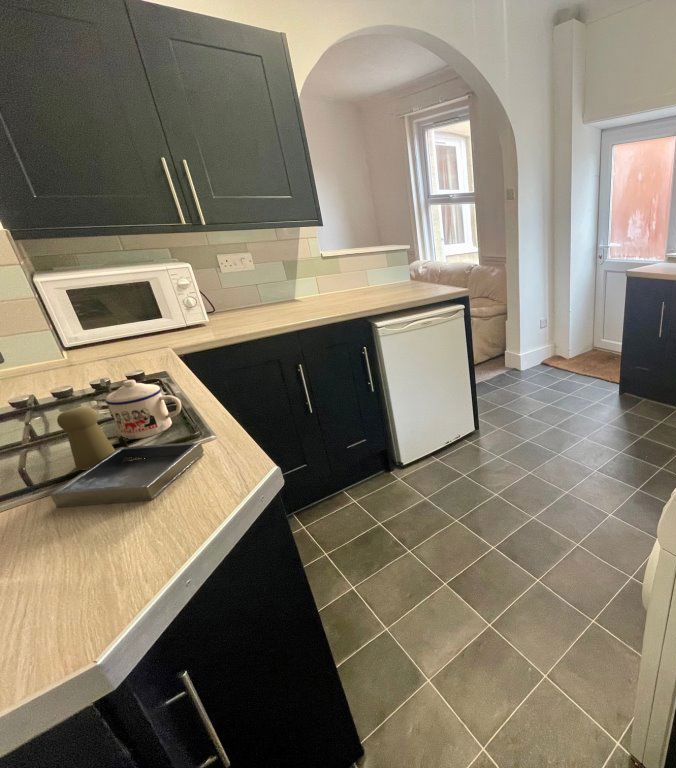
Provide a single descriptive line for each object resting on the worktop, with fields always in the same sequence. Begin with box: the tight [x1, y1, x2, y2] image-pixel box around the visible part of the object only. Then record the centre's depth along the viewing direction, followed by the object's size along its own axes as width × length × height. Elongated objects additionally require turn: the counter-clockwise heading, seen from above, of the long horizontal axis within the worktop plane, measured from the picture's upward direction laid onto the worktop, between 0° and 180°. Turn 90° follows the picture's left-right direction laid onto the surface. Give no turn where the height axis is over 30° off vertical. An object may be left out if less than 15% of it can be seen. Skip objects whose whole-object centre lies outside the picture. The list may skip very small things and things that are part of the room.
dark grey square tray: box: [49, 441, 205, 508], centre depth 74 cm, size 15×15×3 cm
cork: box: [56, 406, 116, 471], centre depth 78 cm, size 6×6×11 cm
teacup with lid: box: [105, 379, 182, 440], centre depth 90 cm, size 12×9×12 cm
